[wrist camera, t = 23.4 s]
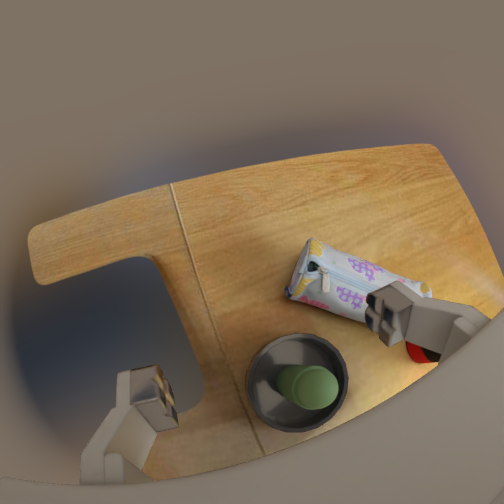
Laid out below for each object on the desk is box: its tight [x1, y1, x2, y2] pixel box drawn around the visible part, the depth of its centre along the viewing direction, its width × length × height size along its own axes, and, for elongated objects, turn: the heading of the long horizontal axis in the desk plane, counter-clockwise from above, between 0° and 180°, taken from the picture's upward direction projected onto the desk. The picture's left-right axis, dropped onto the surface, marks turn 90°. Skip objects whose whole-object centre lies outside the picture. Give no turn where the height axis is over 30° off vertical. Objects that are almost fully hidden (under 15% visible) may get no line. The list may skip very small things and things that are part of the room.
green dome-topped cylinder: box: [276, 365, 338, 410], centre depth 30 cm, size 5×5×12 cm
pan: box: [245, 333, 349, 432], centre depth 34 cm, size 13×13×4 cm
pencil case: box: [284, 238, 432, 323], centre depth 37 cm, size 21×9×10 cm, turn 70°
